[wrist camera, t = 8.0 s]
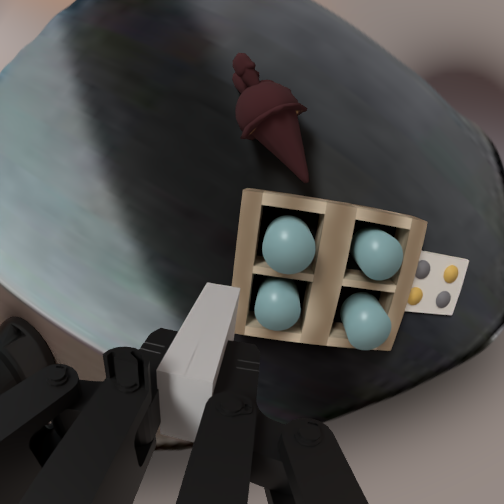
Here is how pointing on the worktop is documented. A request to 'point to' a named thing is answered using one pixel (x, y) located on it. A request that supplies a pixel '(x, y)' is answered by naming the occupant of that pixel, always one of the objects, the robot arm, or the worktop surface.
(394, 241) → the teal blunt tapered piece
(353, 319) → the teal domed cylinder
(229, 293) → the robot arm
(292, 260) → the teal blunt egg shape
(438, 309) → the card
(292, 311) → the teal rounded lump
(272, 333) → the wooden compartment tray
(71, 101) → the worktop surface
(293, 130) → the icecream
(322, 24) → the worktop surface
